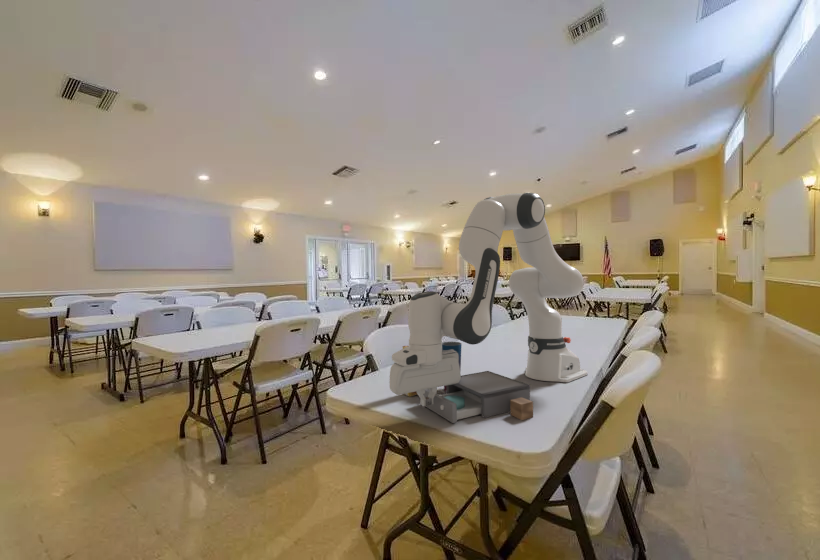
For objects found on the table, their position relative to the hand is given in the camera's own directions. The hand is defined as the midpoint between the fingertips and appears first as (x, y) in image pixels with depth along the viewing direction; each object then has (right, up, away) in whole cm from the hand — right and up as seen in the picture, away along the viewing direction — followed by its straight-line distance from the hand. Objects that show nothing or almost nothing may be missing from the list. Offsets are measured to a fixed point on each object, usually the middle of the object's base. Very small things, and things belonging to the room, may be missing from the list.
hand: (427, 404), depth 99 cm
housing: (+18, -2, +9) cm, 20 cm away
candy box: (-2, -3, +19) cm, 19 cm away
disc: (+8, -2, +4) cm, 9 cm away
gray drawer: (+9, -2, +4) cm, 10 cm away
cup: (+9, -3, +21) cm, 23 cm away
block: (+25, -2, -2) cm, 25 cm away
